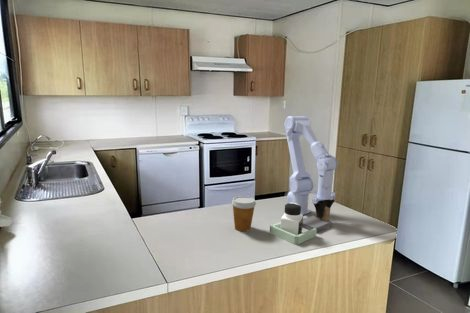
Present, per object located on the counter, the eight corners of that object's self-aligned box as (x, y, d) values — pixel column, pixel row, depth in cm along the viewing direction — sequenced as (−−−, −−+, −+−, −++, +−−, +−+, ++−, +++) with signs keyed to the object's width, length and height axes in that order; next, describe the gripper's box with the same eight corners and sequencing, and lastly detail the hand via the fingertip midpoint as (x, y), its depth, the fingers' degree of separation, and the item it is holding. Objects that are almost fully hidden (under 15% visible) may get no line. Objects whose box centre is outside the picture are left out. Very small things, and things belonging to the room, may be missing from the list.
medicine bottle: (298, 239, 121) (300, 208, 118) (279, 235, 123) (281, 205, 121) (302, 232, 127) (304, 203, 125) (284, 228, 130) (286, 200, 127)
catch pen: (269, 232, 125) (270, 225, 125) (289, 225, 133) (289, 218, 133) (296, 245, 116) (297, 237, 115) (316, 236, 124) (316, 228, 123)
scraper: (297, 225, 133) (298, 209, 132) (314, 218, 142) (316, 203, 140) (315, 233, 127) (316, 216, 125) (333, 225, 135) (334, 209, 134)
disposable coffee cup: (257, 225, 132) (258, 197, 129) (250, 235, 123) (252, 205, 121) (235, 222, 135) (236, 194, 132) (227, 230, 126) (228, 201, 123)
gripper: (323, 190, 127) (320, 223, 129) (343, 184, 136) (339, 215, 139) (308, 186, 132) (305, 218, 134) (328, 181, 141) (325, 210, 144)
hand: (322, 216), depth 137 cm, fingers open, 3 cm apart
